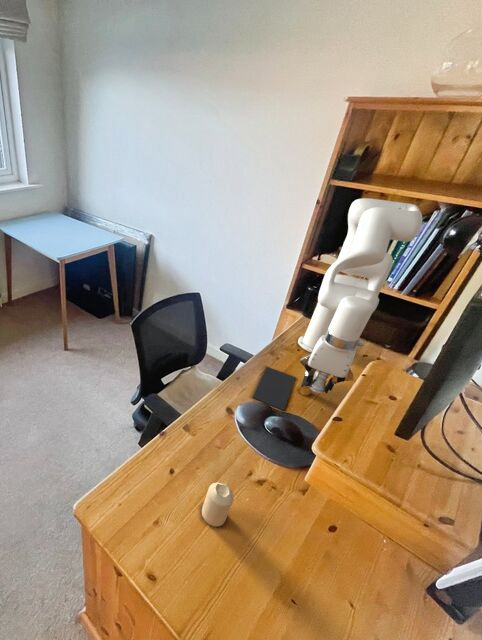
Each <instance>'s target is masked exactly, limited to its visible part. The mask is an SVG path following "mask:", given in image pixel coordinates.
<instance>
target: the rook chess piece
mask: <svg viewBox="0 0 482 640" xmlns="http://www.w3.org/2000/svg"><path fill="white" fill-rule="evenodd" d="M318 372H319V373H318V376H317V377H316V379H314V380H313V381H312V382H311V384H310V386H309V387H310V389H311V390H312V391H311V392H314V393H316V394H323V393H325V389H326V385H327V384H326V381H327V379H328V378H329V376H332V375H331V374H328V373H325V372H322V371H320V370H318Z"/></svg>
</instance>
